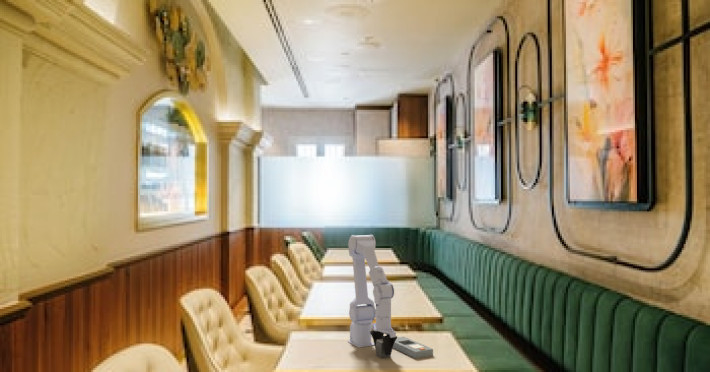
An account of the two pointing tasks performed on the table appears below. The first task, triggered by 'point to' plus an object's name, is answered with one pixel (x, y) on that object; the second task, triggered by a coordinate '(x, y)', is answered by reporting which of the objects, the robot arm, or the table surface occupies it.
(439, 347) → the table surface
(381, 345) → the plug block
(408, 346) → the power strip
